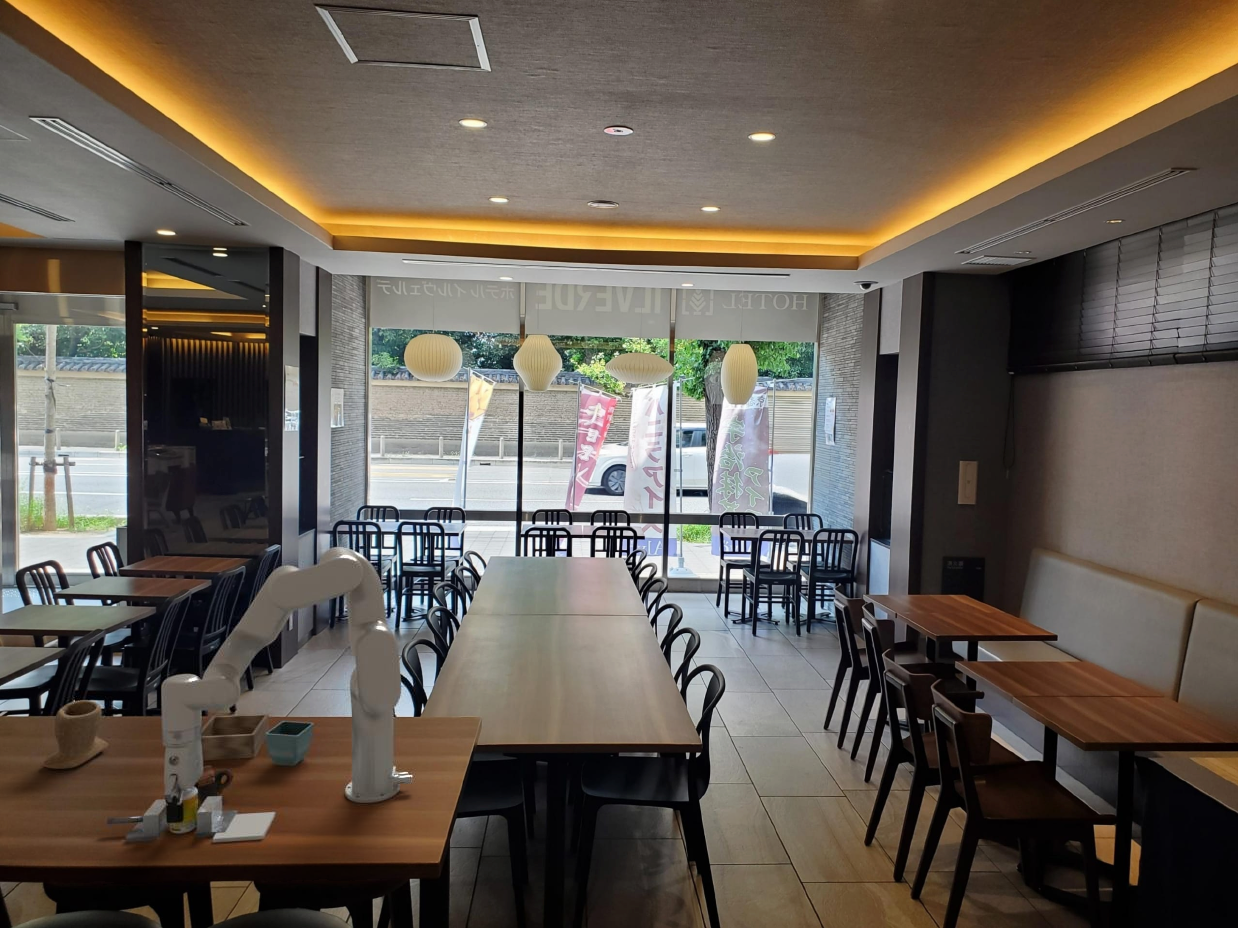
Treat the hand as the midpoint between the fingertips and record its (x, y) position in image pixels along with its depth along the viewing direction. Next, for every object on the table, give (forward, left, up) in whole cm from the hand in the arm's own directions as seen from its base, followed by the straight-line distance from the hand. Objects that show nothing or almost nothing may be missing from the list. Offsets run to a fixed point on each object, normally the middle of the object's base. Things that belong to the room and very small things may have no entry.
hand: (183, 810), depth 174 cm
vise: (+3, 0, -4) cm, 5 cm away
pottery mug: (0, -14, -4) cm, 15 cm away
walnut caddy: (+2, -42, -4) cm, 42 cm away
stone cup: (+38, -39, -4) cm, 55 cm away
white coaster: (-13, +2, -4) cm, 14 cm away
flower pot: (-15, -31, -4) cm, 35 cm away
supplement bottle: (0, 0, -4) cm, 4 cm away
